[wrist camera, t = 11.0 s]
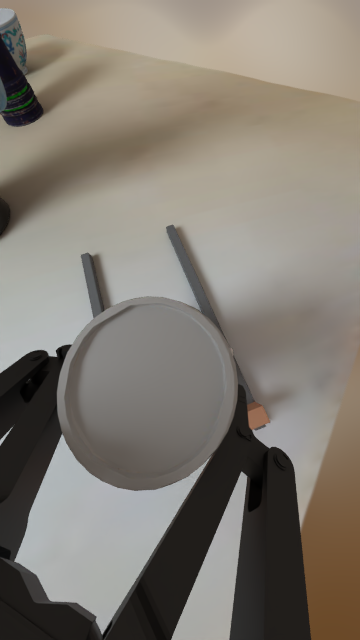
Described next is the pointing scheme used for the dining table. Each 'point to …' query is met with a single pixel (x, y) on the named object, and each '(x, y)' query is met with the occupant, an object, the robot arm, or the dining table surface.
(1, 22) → the chinaware
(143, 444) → the disposable coffee cup
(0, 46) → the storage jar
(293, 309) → the dining table surface
